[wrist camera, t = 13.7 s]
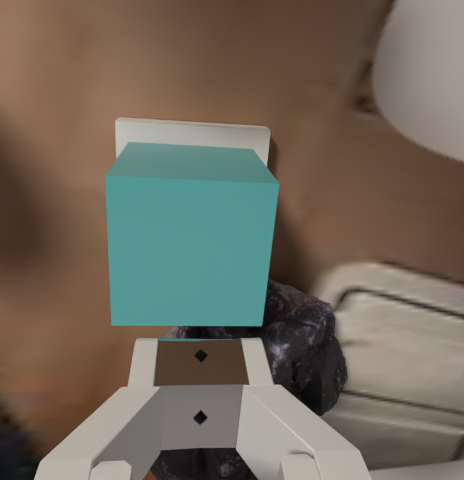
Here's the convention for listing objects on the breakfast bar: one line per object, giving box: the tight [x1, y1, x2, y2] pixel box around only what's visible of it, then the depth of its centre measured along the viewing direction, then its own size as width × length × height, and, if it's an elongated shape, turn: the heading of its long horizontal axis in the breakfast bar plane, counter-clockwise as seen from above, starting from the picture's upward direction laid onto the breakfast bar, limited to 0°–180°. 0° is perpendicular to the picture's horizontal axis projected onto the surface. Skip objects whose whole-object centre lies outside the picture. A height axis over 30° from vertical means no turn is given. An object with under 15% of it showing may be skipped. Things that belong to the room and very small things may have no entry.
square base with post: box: [115, 117, 271, 167], centre depth 21 cm, size 8×8×8 cm
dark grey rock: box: [150, 275, 347, 480], centre depth 26 cm, size 13×14×10 cm
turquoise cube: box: [105, 142, 279, 326], centre depth 19 cm, size 6×6×7 cm
